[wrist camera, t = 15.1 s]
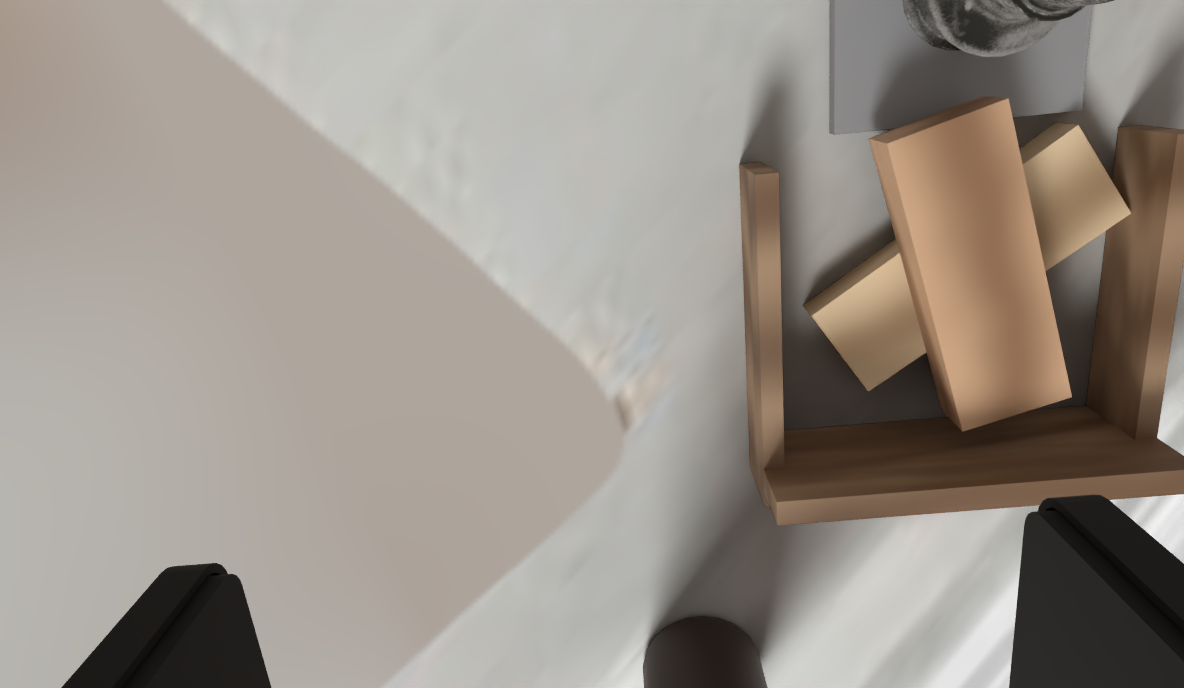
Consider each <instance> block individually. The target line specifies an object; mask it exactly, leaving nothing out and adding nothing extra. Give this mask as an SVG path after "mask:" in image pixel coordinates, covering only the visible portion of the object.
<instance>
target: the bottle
mask: <svg viewBox="0 0 1184 688" xmlns="http://www.w3.org/2000/svg"><path fill="white" fill-rule="evenodd" d="M643 675H644V688H767V684H766V681H765V677H764V673H763V669H762V666H761V662H760V658H759V654H758V651H757V650H756V648H755V646H754V644H753V642H752V641H751V639H750V637H749V636H748V635H747V634H745V633H744V632H743V631H742V630H741V629H740V628H738V627H737V626H736V625H733V624H731V623H729V622H726V621H724V620H722V619H717V618H709V617H697V618H689V619H684V620H681V621H679V622H677V623H674V624H672V625H669V626H668V627H666V628H665V629H664V630H663V631H661V632H660V633H659V634H658V635H656V636H655V638H654V639H653V641H652V642H651V644H650V646H649V647H648V649H647V651H646V655H645V659H644V664H643Z"/></svg>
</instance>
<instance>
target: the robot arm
mask: <svg viewBox="0 0 1184 688" xmlns="http://www.w3.org/2000/svg"><path fill="white" fill-rule="evenodd" d="M62 688H271V685H270V681H269V678H268V675H267V671H266V667H265V664H264V660H263V657H262V653H261V650H260V646H259V643H258V639H257V636H256V632H255V629H254V625H253V622H252V618H251V615H250V611H249V607H248V604H247V600H246V597H245V593H244V590H243V587H242V584H241V581H240V579H239V578H238V577H237V576H236V575H234V574H228V573H227V571H226V570H225V568H224V567H223V566H222V565H220V564H217V563H212V564H198V565H185V566H174V567H169V568H167V569H165V570H164V571H163V572H162V573H161V574H160V575H159V576H158V577H157V578H156V579H155V581H154V582H153V583H152V584H151V585H150V586H149V588H148V589H147V590H146V591H145V592H144V593H143V594H142V596H141V597H140V598H139V599H138V600H137V601H136V603H135V604H134V605H133V606H132V607H131V608H130V609H129V611H128V612H127V613H126V614H125V615H124V616H123V617H122V619H121V620H120V621H119V622H118V623H117V624H116V625H115V627H114V628H113V629H112V630H111V631H110V632H109V634H108V635H107V636H106V637H105V638H104V639H103V641H102V642H101V643H100V644H99V645H98V646H97V647H96V649H95V650H94V651H93V652H92V653H91V654H90V655H89V657H88V658H87V659H86V660H85V661H84V663H83V664H82V665H81V666H80V667H79V668H78V669H77V671H76V672H75V673H74V674H73V675H72V676H71V678H70V679H69V680H68V681H67V682H66V683H65V684H64V685H63V687H62ZM1009 688H1184V564H1183V563H1182V562H1181V561H1180V560H1179V559H1177V558H1176V557H1175V556H1174V555H1173V554H1172V553H1170V552H1169V551H1168V550H1167V549H1166V548H1165V547H1163V546H1162V545H1161V544H1160V543H1159V542H1158V541H1156V540H1155V539H1154V538H1153V537H1152V536H1150V535H1149V534H1148V533H1147V532H1146V531H1145V530H1143V529H1142V528H1141V527H1140V526H1139V525H1138V524H1136V523H1135V522H1134V521H1133V520H1132V519H1131V518H1129V517H1128V516H1127V515H1126V514H1125V513H1123V512H1122V511H1121V510H1120V509H1119V508H1118V507H1116V506H1115V505H1114V504H1113V503H1112V502H1111V501H1109V500H1108V499H1107V498H1105V497H1103V496H1102V495H1095V494H1093V495H1080V496H1068V497H1055V498H1047V499H1045V500H1043V501H1042V503H1041V504H1040V506H1039V509H1038V512H1031V513H1029V514H1028V516H1027V517H1026V520H1025V525H1024V534H1023V545H1022V556H1021V567H1020V577H1019V588H1018V599H1017V609H1016V620H1015V631H1014V641H1013V652H1012V663H1011V673H1010V684H1009Z"/></svg>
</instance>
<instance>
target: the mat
mask: <svg viewBox="0 0 1184 688" xmlns="http://www.w3.org/2000/svg"><path fill="white" fill-rule="evenodd" d="M1091 15H1092V5H1087V6H1086V7H1085V8H1084V9H1083V10H1081V11H1079V12H1078V13H1076V14H1074V15H1072V16H1071V17H1068V18H1065V19H1061V20H1060V21H1059V23H1058V24H1057V25H1056V26H1055V27H1054V28H1053V29H1052V30H1051V31H1050V32H1049V33H1048V34H1047V35H1046V36H1045V37H1044V38H1042V39H1041V40H1040V41H1038V42H1037V43H1035V44H1033V45H1031V46H1030V47H1028V48H1026V49H1024V50H1023V51H1020V52H1016V53H1013V54H1009V55H1006V56H1000V57H981V56H977V55H974V54H970V53H966V52H963V51H962V50H957V51H948V50H944V49H940V48H937V47H933V46H932V45H930V44H928V43H927V42H925V41H924V40H922V39H921V38H920V37H919V36H918V35H917V34H916V32H915V31H914V30H913V29H912V28H911V26H910V24H909V22H908V20H907V17H906V15H905V13H904V8H903V1H902V0H830V134H834V135H836V134H846V133H856V132H866V131H877V130H887V129H896V128H898V127H901V126H904V125H906V124H909V123H912V122H914V121H917V120H920V119H922V118H925V117H928V116H930V115H933V114H936V113H938V112H941V111H944V110H946V109H949V108H952V107H954V106H957V105H959V104H962V103H965V102H967V101H970V100H973V99H975V98H978V97H981V96H987V97H1000V98H1009V103H1010V107H1011V112H1012V117H1020V116H1031V115H1041V114H1051V113H1061V112H1072V111H1082V104H1083V94H1084V84H1085V74H1086V64H1087V54H1088V44H1089V35H1090V25H1091Z"/></svg>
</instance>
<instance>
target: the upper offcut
mask: <svg viewBox="0 0 1184 688" xmlns="http://www.w3.org/2000/svg"><path fill="white" fill-rule="evenodd" d="M869 141H870V145H871V148H872V152H873V156H874V160H875V163H876V167H877V171H878V174H879V178H880V182H881V186H882V189H883V193H884V197H885V200H886V204H887V208H888V212H889V215H890V219H891V223H892V226H893V230H894V234H895V237H896V241H897V245H898V249H899V252H900V255H901V259H902V263H903V267H904V270H905V274H906V278H907V282H908V285H909V289H910V293H911V297H912V300H913V304H914V308H915V312H916V315H917V319H918V323H919V326H920V330H921V334H922V338H923V341H924V345H925V349H926V352H927V356H928V360H929V363H930V367H931V371H932V375H933V378H934V382H935V386H936V389H937V393H938V397H939V401H940V404H941V408H942V410H943V412H944V413H945V414H946V415H947V416H948V417H949V418H950V419H951V420H952V421H953V422H954V423H955V424H956V425H957V426H958V427H959V428H960V429H961V431H962V432H963V431H967V430H970V429H973V428H976V427H979V426H982V425H986V424H989V423H992V422H995V421H998V420H1001V419H1004V418H1008V417H1011V416H1014V415H1017V414H1020V413H1023V412H1027V411H1030V410H1033V409H1036V408H1039V407H1042V406H1046V405H1049V404H1052V403H1055V402H1058V401H1061V400H1065V399H1068V398H1071V397H1072V394H1071V390H1070V385H1069V380H1068V376H1067V371H1066V366H1065V362H1064V357H1063V352H1062V347H1061V343H1060V338H1059V333H1058V329H1057V324H1056V319H1055V315H1054V310H1053V305H1052V300H1051V296H1050V291H1049V286H1048V282H1047V277H1046V272H1045V267H1044V263H1043V258H1042V253H1041V249H1040V244H1039V239H1038V235H1037V230H1036V225H1035V220H1034V216H1033V211H1032V206H1031V202H1030V197H1029V192H1028V187H1027V183H1026V178H1025V173H1024V169H1023V164H1022V159H1021V155H1020V150H1019V145H1018V140H1017V136H1016V131H1015V126H1014V122H1013V117H1012V112H1011V107H1010V103H1009V98H1000V97H987V96H981V97H978V98H975V99H973V100H970V101H967V102H965V103H962V104H959V105H957V106H954V107H952V108H949V109H946V110H944V111H941V112H938V113H936V114H933V115H930V116H928V117H925V118H922V119H920V120H917V121H914V122H912V123H909V124H906V125H904V126H901V127H898V128H896V129H893V130H890V131H888V132H885V133H883V134H880V135H877V136H875V137H872V138H869Z"/></svg>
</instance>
